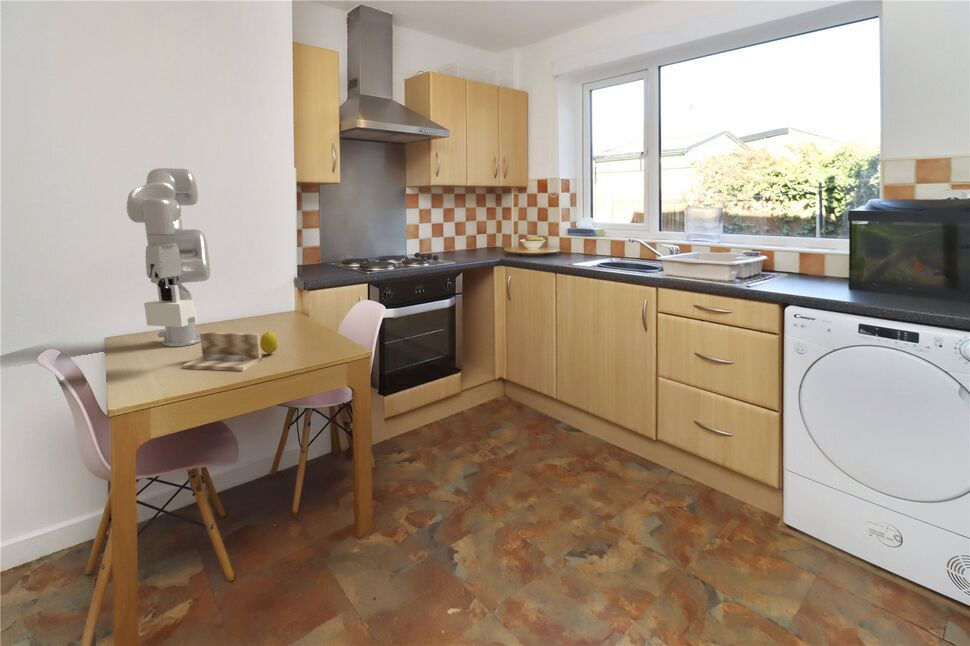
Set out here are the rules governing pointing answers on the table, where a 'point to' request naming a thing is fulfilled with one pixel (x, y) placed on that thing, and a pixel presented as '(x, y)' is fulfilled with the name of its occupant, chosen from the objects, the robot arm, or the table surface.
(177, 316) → the white stepped block
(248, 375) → the table surface
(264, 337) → the lemon
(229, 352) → the cleat board
